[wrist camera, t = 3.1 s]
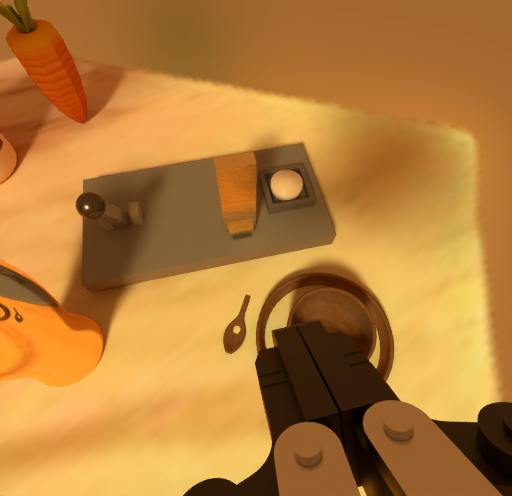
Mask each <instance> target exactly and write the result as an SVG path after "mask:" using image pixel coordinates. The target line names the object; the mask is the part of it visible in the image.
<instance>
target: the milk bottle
mask: <svg viewBox="0 0 512 496" xmlns="http://www.w3.org/2000/svg"><path fill="white" fill-rule="evenodd" d="M16 163H17V156H16V152H15V150H14V148H13V147H12V146H11V144H10V143H9V142H8V141H7V140H6V139H5V137H4V136H3V135H2V134H1V133H0V184H1V183H2V182H3V181H5V180H6V179H7V178H8V177H9V176H10V175H11V173H12V172H13V171H14V168H15V167H16Z"/></svg>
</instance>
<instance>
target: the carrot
mask: <svg viewBox="0 0 512 496" xmlns="http://www.w3.org/2000/svg"><path fill="white" fill-rule="evenodd" d="M14 4H15V7H16V9H17V11H18V13H19V15H18V14H17V13H16V12H15V10H14V9H13V8H12V7H11V6H10V5H6V6H5V5H3V4H2V3H1V2H0V14H1V15H2V16H4V17H5V18H7V19H8V20H9V21H11V22H12V23H13V24H14V26H13V28H12V29H11V30H10V31H9V33H8V34H7V37H6V40H7V43H8V45H9V47H10V48H11V50H12V51H13V52H14V54H15V55H16V57H17V58H18V60H19V61H20V62H21V64H22V65H23V67H24V68H25V70H26V71H27V72H28V74H29V75H30V77H31V78H32V79H33V81H34V82H35V83H36V85H37V86H38V87H39V89H40V90H41V91H42V92H43V93H44V95H45V96H46V97H47V98H48V99H49V100H50V101H51V102H52V103H53V104H54V105H55V106H56V107H57V108H58V109H59V110H60V111H61V112H62V113H64V114H65V115H66V116H68V117H69V118H71V119H73V120H75V121H76V122H79V123H84V122H85V120H86V117H87V102H86V96H85V92H84V88H83V85H82V82H81V79H80V76H79V73H78V71H77V69H76V66H75V64H74V62H73V60H72V57H71V55H70V53H69V51H68V49H67V47H66V45H65V43H64V41H63V39H62V37H61V36H60V34H59V33H58V32H57V31H56V30H55V28H54V27H53V26H52V25H51V24H50V23H49V22H47V21H45V20H34V19H32V18H31V15H30V12H29V9H28V7H27V0H14ZM19 16H20V17H19Z"/></svg>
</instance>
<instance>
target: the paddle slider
mask: <svg viewBox="0 0 512 496" xmlns="http://www.w3.org/2000/svg"><path fill="white" fill-rule="evenodd" d="M213 160H214V166H215V173H216V179H217V185H218V192H219V198H220V204H221V210H222V217H223V223H224V227H225V232H228V231H229V236H230V237H231V236H236V235H241V234H246V233H251V232H254V226H256V175H257V163H256V160H255V156H254V153H253V151H252V152H247V153H241V154H235V155H229V156H223V157H217V158H213Z"/></svg>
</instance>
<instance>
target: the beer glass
mask: <svg viewBox="0 0 512 496" xmlns="http://www.w3.org/2000/svg"><path fill="white" fill-rule="evenodd" d="M103 345H104V340H103V334H102V331H101V329H100V327H99V326H98V325H97V323H96V322H95V321H93V320H92V319H90V318H88V317H86V316H83V315H79V314H73V313H69V312H67V311H66V310H65V309H64V308H63V307H62V306H61V305H60V303H59V302H58V301H57V300H56V299H55V298H54V297H53V296H52V295H51V294H50V293H49V292H48V291H47V290H46V289H45V288H44V287H43V286H42V285H41V284H40V283H38V282H37V281H36V280H35V279H33V278H32V277H30V276H29V275H27V274H26V273H24V272H23V271H21V270H20V269H18V268H16V267H14V266H12V265H11V264H9V263H7V262H5V261H3V260H1V259H0V381H8V380H15V379H22V378H35V379H37V380H39V381H41V382H42V383H44V384H46V385H49V386H53V387H64V386H69V385H72V384H75V383H77V382H79V381H80V380H82V379H83V378H85V377H86V376H87V375H88V374H89V373H90V372H91V371H92V370H93V369H94V368H95V366H96V365H97V363H98V362H99V360H100V357H101V355H102V351H103Z"/></svg>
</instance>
